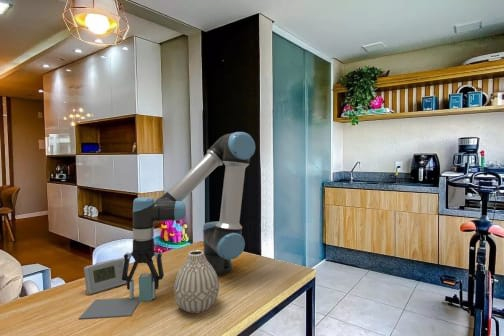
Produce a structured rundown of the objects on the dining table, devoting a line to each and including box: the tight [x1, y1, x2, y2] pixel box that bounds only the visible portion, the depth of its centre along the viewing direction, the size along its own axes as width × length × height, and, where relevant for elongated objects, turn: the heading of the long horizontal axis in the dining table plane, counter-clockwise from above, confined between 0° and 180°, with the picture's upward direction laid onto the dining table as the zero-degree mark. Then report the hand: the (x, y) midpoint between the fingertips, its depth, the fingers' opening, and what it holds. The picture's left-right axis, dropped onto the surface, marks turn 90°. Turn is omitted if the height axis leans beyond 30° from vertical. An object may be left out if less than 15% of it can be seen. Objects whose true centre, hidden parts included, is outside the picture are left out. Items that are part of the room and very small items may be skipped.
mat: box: [78, 296, 141, 320], centre depth 107 cm, size 17×13×1 cm
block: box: [138, 272, 154, 303], centre depth 114 cm, size 4×4×9 cm
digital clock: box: [83, 257, 127, 295], centre depth 124 cm, size 16×9×11 cm, turn 122°
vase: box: [173, 249, 220, 314], centre depth 106 cm, size 16×16×20 cm
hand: (143, 297), depth 114 cm, fingers open, 8 cm apart
